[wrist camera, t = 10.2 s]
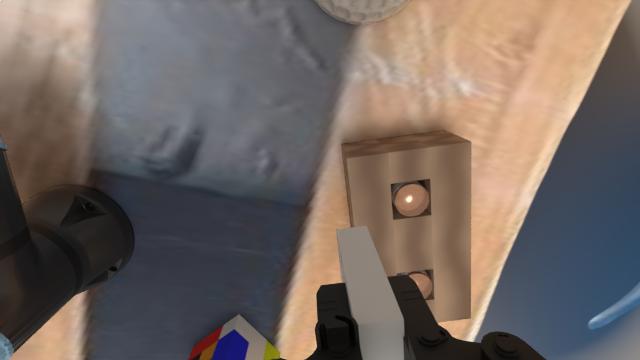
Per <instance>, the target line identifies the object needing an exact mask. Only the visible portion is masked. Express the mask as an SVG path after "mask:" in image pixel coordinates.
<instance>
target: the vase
mask: <svg viewBox="0 0 640 360" xmlns="http://www.w3.org/2000/svg"><path fill="white" fill-rule="evenodd" d="M410 1H411V0H315V2H316V3H317V4H318V5H319V6H320V7H321V8H322V9H323V10H324V11H325V12H326V13H328V14H329V15H330V16H332V17H334V18H336V19H337V20H339V21H343V22H346V23H349V24H356V25H361V24H371V23H376V22H379V21H382V20H384V19H387V18H389V17H391V16H392V15H394V14H396V13H397V12H398V11H400V10H401V9H402V8H403V7H405V6H406V5H407V4H408V3H409V2H410Z"/></svg>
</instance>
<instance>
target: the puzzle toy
mask: <svg viewBox="0 0 640 360" xmlns="http://www.w3.org/2000/svg"><path fill="white" fill-rule="evenodd" d="M279 357H280V352H279V351H278V350H277V349H276V348H275V347H274V346H272V345H271V344H270V343H269V342H268V341H267V340H266V339H265V338H264V337H263V336H262V335H261V334H260V333H259V332H258V331H256V330H255V329H254V328H253V327H252V326H251V325H250V324H249V323H248V322H247V321H246V320H245V319H244V318H243V317H242V316H240V315H239V314H238V315H237V316H235V317H234V318H233V319H231V320H230V321H229V322H227V323H226V324H224V325H223V326H222V327H220V328H219V329H217V330H216V331H215V332H213V333H212V334H211V335H209V336H208V337H206V338H205V339H204V340H202V341H201V342H199V343H198V344H197V345H195V346H194V348H193V350H192V353H191V355H190V357H189V359H188V360H271V359H277V358H279Z"/></svg>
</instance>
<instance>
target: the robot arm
mask: <svg viewBox="0 0 640 360" xmlns="http://www.w3.org/2000/svg"><path fill="white" fill-rule="evenodd" d="M6 150H8V147H7V145H6V144H4V143H3V141H2V138H1V136H0V360H8V359H9V358H10V357H11V356H12V354H14V353H15V352H16V351H17V350H18V349H19V348H20V347H21V346H22V345H23V344H24V343H25V342H26V341H27V340H28V339H29V338H30V337H31V336H32V335H34V334H35V333H36V332H37V331H38V330H39V329H40V328H41V327H42V326H43V325H44V324H45V323H46V322H47V321H48V320H49V319H50V318H51V317H52V316H53V315H55V314H56V313H57V312H58V311H59V310H60V309H61V308H62V307H63V306H64V305H65V304H66V303H67V302H68V301H69V300H70V299H71V298H72V297H74V296H75V295H77V294H79V293H81V292H84V291H86V290H88V289H91V288H93V287H95V286H97V285H100V284H102V283H104V282H106V281H108V280H109V279H111V278H112V277H114V276H115V275H116V274H117V273H118V272H119V271H120V270H121V269H122V268H123V267H124V266H125V265H126V263H127V262H128V261H129V259H130V257H131V255H132V252H133V247H134V236H133V231H132V227H131V225H130V222H129V220H128V219H127V217H126V215H125V214H124V212H123V211H122V210H121V209H120V207H119V206H118V205H117V204H116V203H114V202H113V201H112V200H111V199H110V198H108V197H107V196H105V195H104V194H102V193H100V192H98V191H96V190H93V189H91V188H88V187H84V186H79V185H60V186H55V187H52V188H50V189H47V190H45V191H43V192H40V193H38V194H36V195H34V196H33V197H31V198H30V199H28V200H27V201H26V202H25V203H24V204H23V205H22V204H21V200H20V197H19V194H18V190H17V187H16V183H15V180H14V177H13V173H12V170H11V167H10V163H9V160H8V157H7V153H6ZM336 231H337V241H338V251H339V260H340V270H341V279H342V283H337V284H328V285H321V286H320V288H319V290H318V292H317V316H318V322H317V324H316V327H315V335H316V342H317V348H316V350H315V351H314V353H313V354H312V355H311V356H310V357H308V358H307V359H305V360H546V359H545V358H543V357H542V356H541V355H540V354H539V353H538V352H536V351H535V350H534V349H533V348H532V347H531V346H529V345H528V344H527V343H526V342H525V341H523V340H522V339H520V338H518V337H517V336H514V335H512V334H509V333H505V332H491V333H488V334H486V335H485V336H484V337H483V339H482V341H481V343H476V342H469V341H463V340H459V339H456V338H454V337H452V336H451V335H450V333H449V332H448V331H447V330H446V329H444V328H443V327H441V326H439V325H438V323H437V321H436V320H435V318H434V316H433V314H432V312H431V310H430V308H429V306H428V304H427V302H426V301H425V299H424V297H423V295H422V293H421V292H420V289H419V287H418V285H417V283H416V282H415V281H414V280H413V279H412V278H410V277H409V276H408V275H398V276H390V277H387V276H386V273H385V271H384V268H383V266H382V263H381V261H380V258H379V256H378V253H377V251H376V248H375V246H374V243H373V241H372V238H371V236H370V233H369V231H368V228H367V226H362V227H354V228H345V229H336ZM271 360H285V359H282V358H277V359H271Z"/></svg>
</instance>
